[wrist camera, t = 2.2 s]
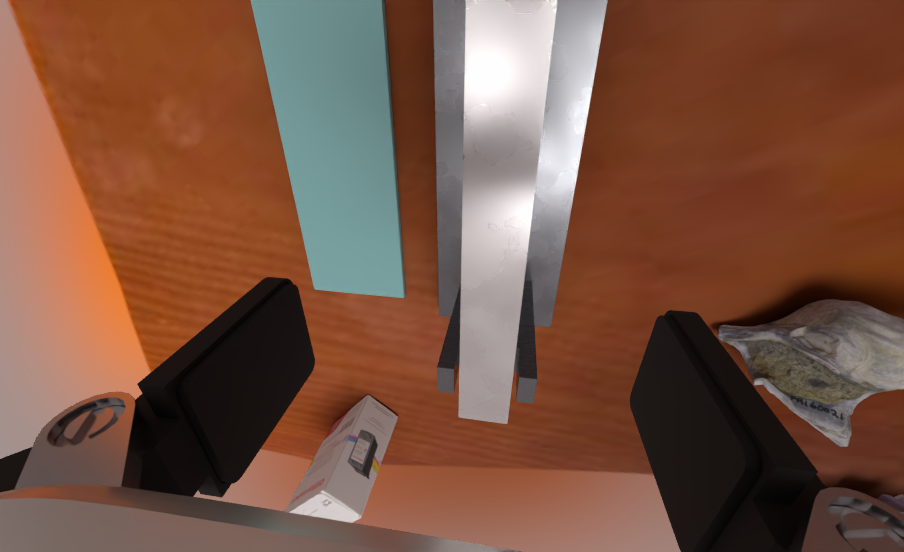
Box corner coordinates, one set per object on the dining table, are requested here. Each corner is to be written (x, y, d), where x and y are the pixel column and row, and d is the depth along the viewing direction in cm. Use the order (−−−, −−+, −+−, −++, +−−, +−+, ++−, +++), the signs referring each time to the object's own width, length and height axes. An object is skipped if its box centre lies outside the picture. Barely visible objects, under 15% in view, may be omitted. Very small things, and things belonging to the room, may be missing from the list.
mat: (222, -159, 21) (214, -164, 20) (371, -172, 20) (367, -179, 19) (317, 286, 36) (314, 289, 36) (405, 294, 35) (404, 298, 34)
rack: (436, -99, 21) (347, -273, 10) (621, -110, 19) (746, -326, 9) (442, 306, 35) (407, 414, 24) (549, 317, 33) (562, 435, 23)
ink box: (361, 442, 48) (318, 543, 38) (330, 421, 47) (277, 519, 37) (401, 415, 44) (365, 520, 34) (368, 391, 43) (320, 492, 33)
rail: (480, -178, 12) (470, -243, 10) (573, -187, 12) (587, -256, 9) (464, 381, 25) (458, 417, 23) (508, 386, 25) (507, 423, 22)
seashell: (735, 271, 29) (827, 360, 20) (993, 290, 26) (1222, 400, 18) (693, 366, 34) (752, 469, 25) (906, 389, 31) (1051, 511, 23)
